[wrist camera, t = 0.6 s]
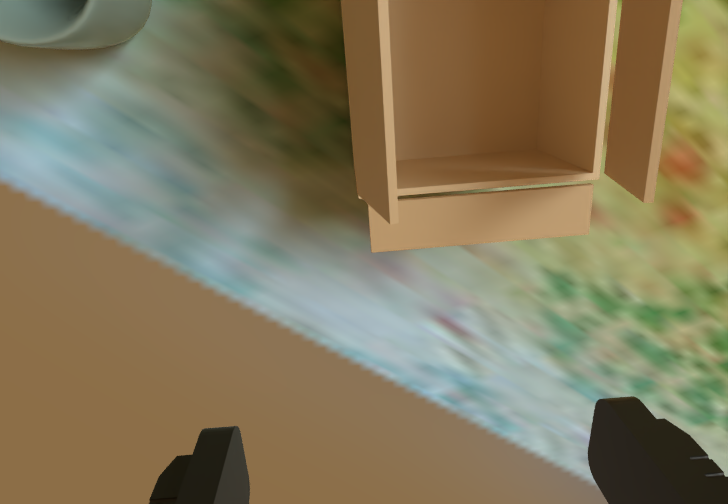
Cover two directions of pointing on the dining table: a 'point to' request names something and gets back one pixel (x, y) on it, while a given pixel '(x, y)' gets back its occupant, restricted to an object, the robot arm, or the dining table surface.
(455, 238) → the carton
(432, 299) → the dining table surface
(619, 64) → the flap
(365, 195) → the flap
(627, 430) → the robot arm
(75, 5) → the cup
